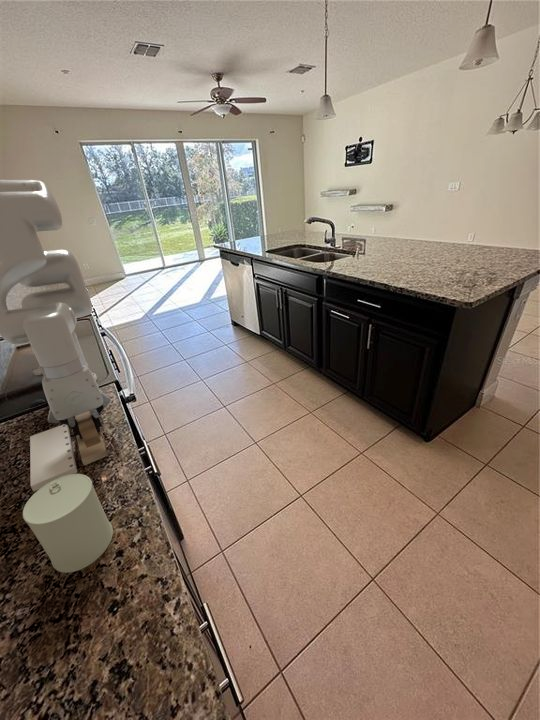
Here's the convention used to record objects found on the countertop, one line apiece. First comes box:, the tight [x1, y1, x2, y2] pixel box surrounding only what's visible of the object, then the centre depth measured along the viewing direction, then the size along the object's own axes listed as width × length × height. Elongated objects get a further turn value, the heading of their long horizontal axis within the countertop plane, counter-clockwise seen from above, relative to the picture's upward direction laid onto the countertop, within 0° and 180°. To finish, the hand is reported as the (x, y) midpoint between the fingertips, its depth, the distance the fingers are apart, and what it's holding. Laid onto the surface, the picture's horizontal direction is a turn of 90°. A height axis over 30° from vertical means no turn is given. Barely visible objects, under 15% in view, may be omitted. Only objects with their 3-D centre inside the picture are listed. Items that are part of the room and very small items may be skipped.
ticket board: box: [29, 424, 78, 493], centre depth 71 cm, size 20×8×2 cm, turn 37°
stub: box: [75, 411, 109, 466], centre depth 74 cm, size 18×5×6 cm, turn 37°
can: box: [22, 473, 114, 574], centre depth 49 cm, size 9×9×12 cm
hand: (89, 432), depth 75 cm, fingers closed on stub, 3 cm apart
